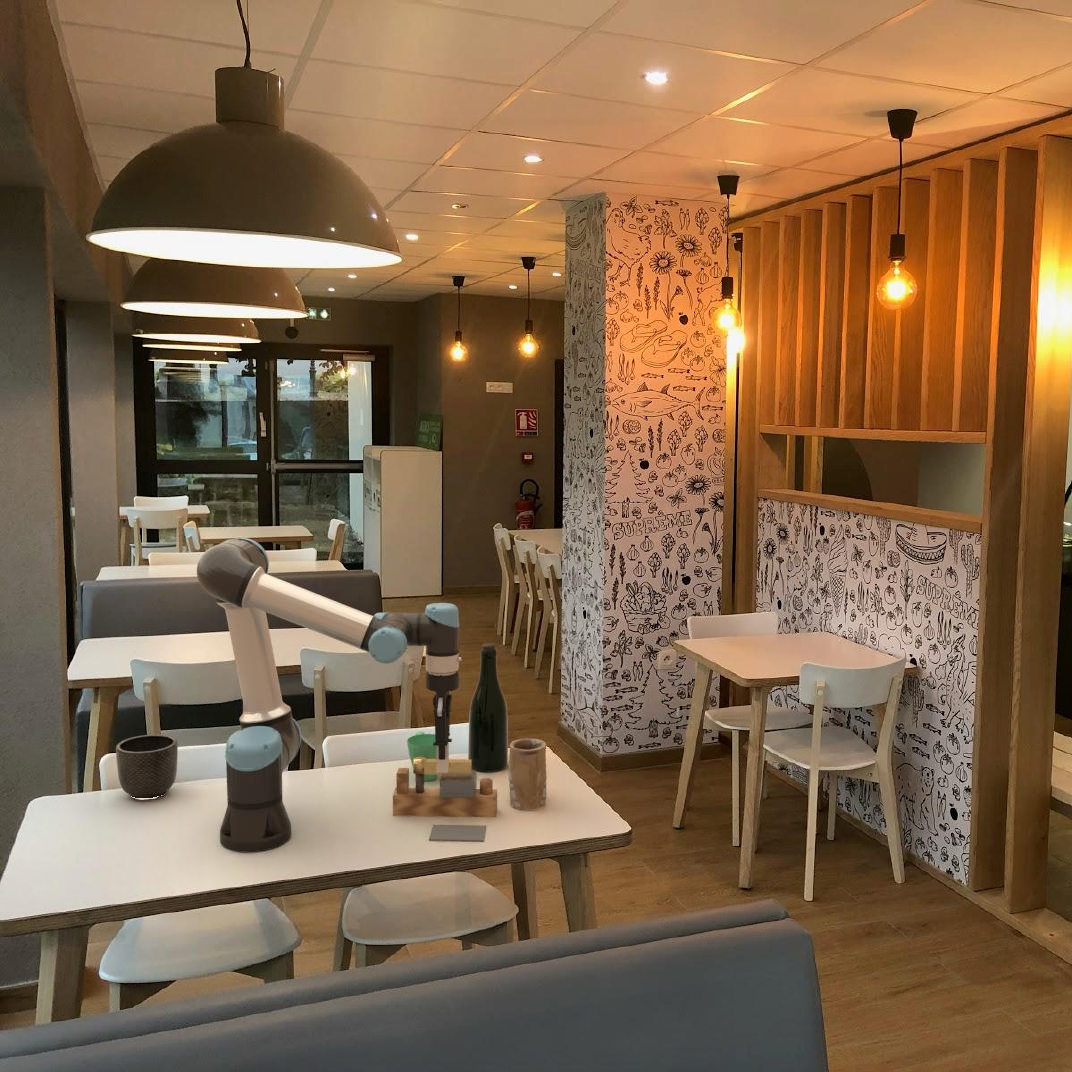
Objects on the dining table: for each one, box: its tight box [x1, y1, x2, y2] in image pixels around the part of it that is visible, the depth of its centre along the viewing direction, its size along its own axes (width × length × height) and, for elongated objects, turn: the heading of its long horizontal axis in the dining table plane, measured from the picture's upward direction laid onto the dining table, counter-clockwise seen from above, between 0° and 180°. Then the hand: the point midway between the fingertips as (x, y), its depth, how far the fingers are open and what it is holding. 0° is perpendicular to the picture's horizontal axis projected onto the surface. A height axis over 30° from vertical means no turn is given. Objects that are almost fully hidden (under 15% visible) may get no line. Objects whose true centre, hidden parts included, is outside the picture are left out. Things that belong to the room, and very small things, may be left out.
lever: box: [412, 757, 473, 776], centre depth 241 cm, size 14×3×3 cm, turn 89°
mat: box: [428, 824, 487, 843], centre depth 230 cm, size 12×8×1 cm, turn 89°
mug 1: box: [406, 731, 438, 782], centre depth 266 cm, size 15×10×10 cm
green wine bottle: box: [467, 642, 509, 773], centre depth 272 cm, size 10×10×33 cm
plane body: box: [392, 767, 498, 818], centre depth 241 cm, size 24×5×10 cm, turn 89°
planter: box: [115, 734, 179, 798], centre depth 250 cm, size 14×14×13 cm
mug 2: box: [508, 738, 548, 811], centre depth 249 cm, size 9×13×15 cm
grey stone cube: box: [439, 770, 478, 798], centre depth 241 cm, size 8×7×4 cm
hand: (442, 771), depth 238 cm, fingers closed
